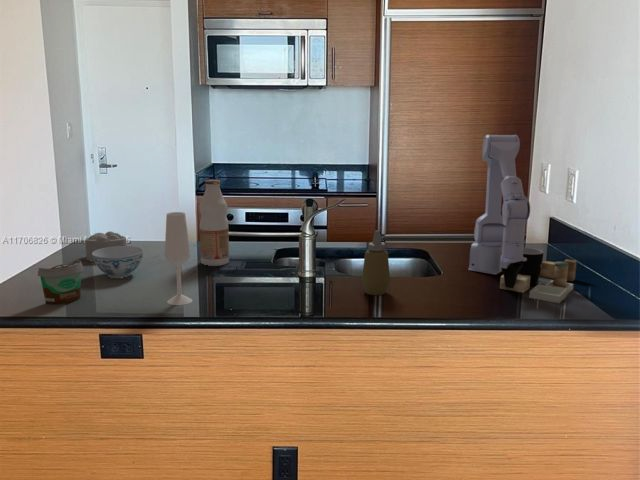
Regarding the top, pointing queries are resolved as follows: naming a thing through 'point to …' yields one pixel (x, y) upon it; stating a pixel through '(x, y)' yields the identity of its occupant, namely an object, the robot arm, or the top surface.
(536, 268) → the mug
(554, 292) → the tray
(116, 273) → the chinaware
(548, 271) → the bench stop
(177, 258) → the champagne flute
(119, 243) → the lumpy-topped squat cylinder
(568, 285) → the collar
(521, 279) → the push block
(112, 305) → the top surface
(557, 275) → the dowel
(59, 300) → the food container
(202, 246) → the fruit juice
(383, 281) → the squeeze bottle
